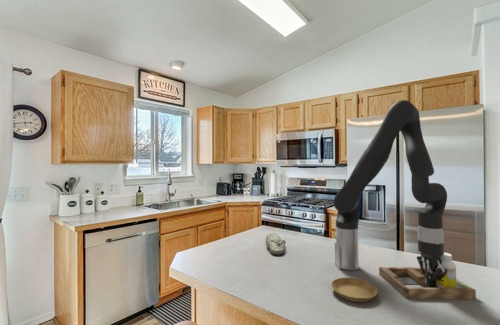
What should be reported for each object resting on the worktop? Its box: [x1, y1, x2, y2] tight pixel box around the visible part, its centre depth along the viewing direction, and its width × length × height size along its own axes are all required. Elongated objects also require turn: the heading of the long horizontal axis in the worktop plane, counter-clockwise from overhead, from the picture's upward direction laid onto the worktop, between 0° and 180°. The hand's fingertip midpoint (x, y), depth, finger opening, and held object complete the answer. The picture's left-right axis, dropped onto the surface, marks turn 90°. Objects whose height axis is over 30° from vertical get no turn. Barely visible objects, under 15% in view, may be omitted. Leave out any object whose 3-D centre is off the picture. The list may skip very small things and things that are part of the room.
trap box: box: [378, 266, 477, 300], centre depth 92 cm, size 22×18×3 cm
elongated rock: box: [265, 232, 287, 256], centre depth 141 cm, size 35×5×10 cm
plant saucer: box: [330, 277, 378, 303], centre depth 86 cm, size 15×15×3 cm
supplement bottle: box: [436, 251, 457, 288], centre depth 88 cm, size 7×7×13 cm
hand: (431, 288), depth 88 cm, fingers closed
